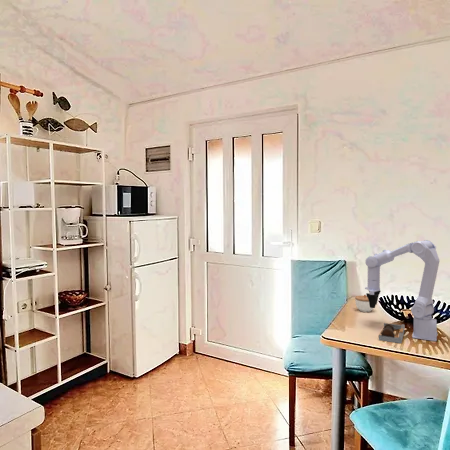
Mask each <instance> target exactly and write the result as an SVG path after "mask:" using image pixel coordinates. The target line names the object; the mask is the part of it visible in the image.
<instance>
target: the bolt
mask: <svg viewBox="0 0 450 450" xmlns="http://www.w3.org/2000/svg"><path fill="white" fill-rule="evenodd" d="M392 324H393V323H389V324H386V325H385V326H384V325H383V328H382V331H381V333H380V335H384V336H391V337H396V334H395V330H396V329H394V327H393V325H392Z"/></svg>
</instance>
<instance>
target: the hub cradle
mask: <svg viewBox="0 0 450 450" xmlns="http://www.w3.org/2000/svg"><path fill="white" fill-rule="evenodd" d="M386 324H390V323H386V322H384V323H383V327H384V326H385V325H386ZM391 324H392V325H393V327H394V329H395V330H398V329H400V330H399V331H398V337H397V336H394V337H391V336H384V335H381V334H378V341H383V342H389V343H395V344H396V343H397V344H403V343H402V342H403V338H404V334H405V330H404V329H405V324H403V323H402V324H395V323H391Z"/></svg>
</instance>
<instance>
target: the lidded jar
mask: <svg viewBox="0 0 450 450" xmlns="http://www.w3.org/2000/svg"><path fill="white" fill-rule="evenodd" d="M354 300H355V301H354V302H355V305H356V308H357V309H358V310H359V312H363V313H370V312H372V310H374V308H370V305H369V300H368V297H367V295H366V294H363V295H356V296H355V297H354Z"/></svg>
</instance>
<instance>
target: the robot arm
mask: <svg viewBox="0 0 450 450" xmlns="http://www.w3.org/2000/svg"><path fill="white" fill-rule="evenodd" d="M407 253H410V254H414V255H415V256H416V257H419V258H420V259H421V260H422V262H424V268H423V272H422V277H421V283H420V287H419V292H418V296H417V298H415V301H414V303H413V304H414V305H413V306H411V309H410V310H411V314H412V316H413V332H412V337H411V338H412V339H418V340H425V341H432V342H437V339H438V338H437V337H438V332H437V330H438V329H437V328H438V327H437V326H438V324H437V323H438V322H437V321H438V320H437V319H436V318H432V317H433V316H432V315H433V314H434V312H435V307H434V300H433V294H434V289H435V284H436V280H437V275H438V270H439V266H440V258H439V254H438V252H437V246H436V245H435V244H434V243H433V242H432V241H431V240H428V239H425V240H421V241H420V240H419V241H418V240H416V241H414V242H410V243H407V244H404V245H402V246H399V247H398V248H395V249H393V250H390V249H383V250H382V251H381V252H378V253H374V255H369V256H368V257H367V258H365V265H366V266H367V286H365V287H364V289H365V290H367V291H368V292H367V293H366V294H365V295H366V296H367V297H368V300H369V305H370V308H373V309H375V308H376V306H377V305H378V300H379V295H380V294H381V286H380V285H381V284H380V283H381V277H380V276H381V273H380V272H381V270H380V269H381V266H383V265H385V264H388V263H390V262H393V261H394V259H395V257H400V256H402V255H406V254H407Z"/></svg>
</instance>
